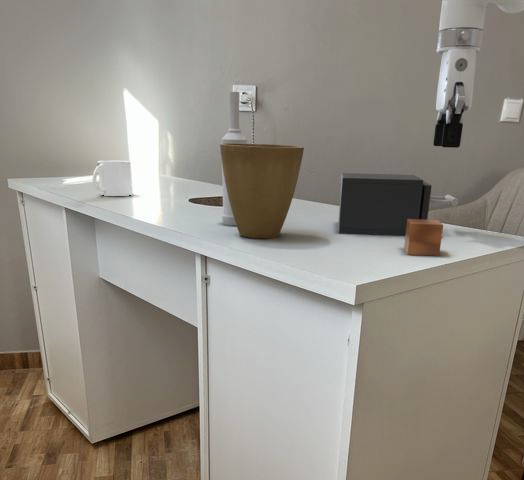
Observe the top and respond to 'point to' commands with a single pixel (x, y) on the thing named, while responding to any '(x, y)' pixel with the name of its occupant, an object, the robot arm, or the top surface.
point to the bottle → (231, 137)
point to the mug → (113, 178)
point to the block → (423, 237)
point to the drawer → (432, 200)
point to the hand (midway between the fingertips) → (445, 146)
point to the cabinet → (378, 203)
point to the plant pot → (260, 185)
